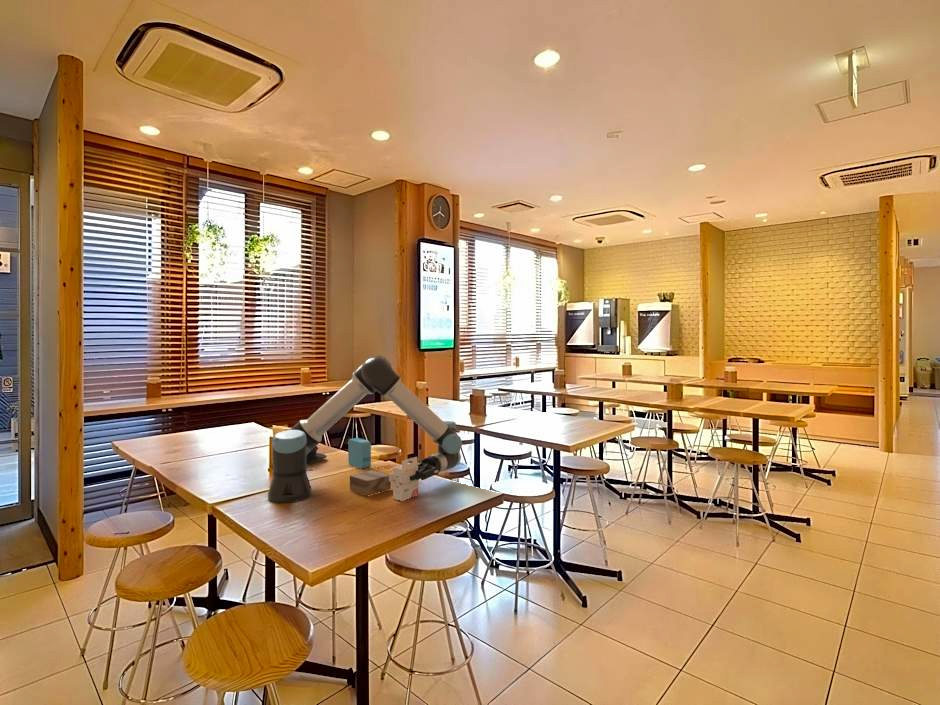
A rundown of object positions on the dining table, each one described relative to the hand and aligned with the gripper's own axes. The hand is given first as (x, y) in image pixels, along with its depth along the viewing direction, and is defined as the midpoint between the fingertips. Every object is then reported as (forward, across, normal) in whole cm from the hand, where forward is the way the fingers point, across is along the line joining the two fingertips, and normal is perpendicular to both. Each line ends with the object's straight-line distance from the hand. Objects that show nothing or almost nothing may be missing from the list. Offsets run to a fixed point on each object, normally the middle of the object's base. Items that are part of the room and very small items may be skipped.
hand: (396, 479), depth 178 cm
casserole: (-19, +73, -8) cm, 76 cm away
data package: (-29, +45, -8) cm, 54 cm away
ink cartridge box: (-5, 0, -8) cm, 10 cm away
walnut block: (-5, +17, -8) cm, 20 cm away
